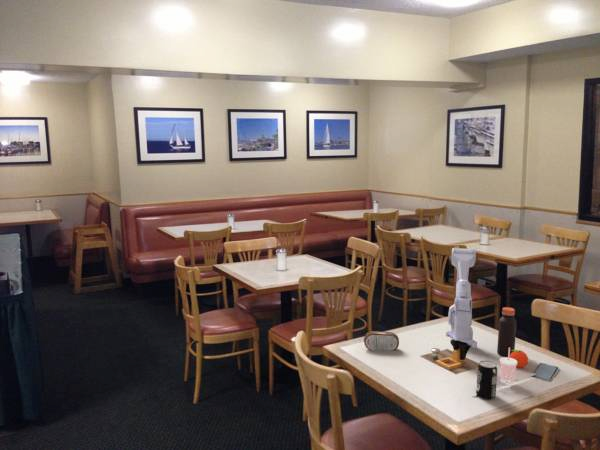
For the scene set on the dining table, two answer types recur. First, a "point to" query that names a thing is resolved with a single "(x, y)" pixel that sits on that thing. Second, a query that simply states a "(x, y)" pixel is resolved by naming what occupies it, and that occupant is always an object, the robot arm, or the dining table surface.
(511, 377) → the beverage cup
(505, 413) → the dining table surface
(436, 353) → the chrome cabinet knob
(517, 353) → the clementine
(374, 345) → the tin
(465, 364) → the plate
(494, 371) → the beverage can
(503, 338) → the bottle
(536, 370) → the smartphone
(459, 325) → the robot arm
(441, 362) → the orange square hoop tool
